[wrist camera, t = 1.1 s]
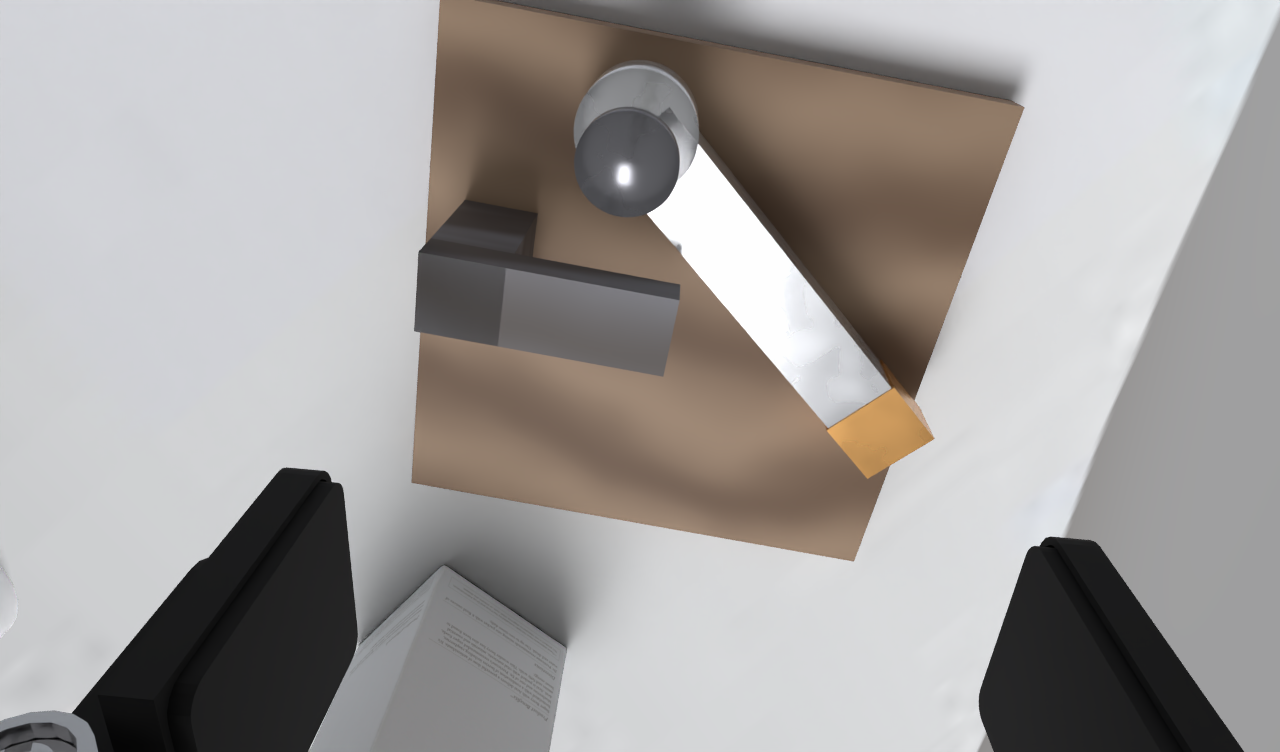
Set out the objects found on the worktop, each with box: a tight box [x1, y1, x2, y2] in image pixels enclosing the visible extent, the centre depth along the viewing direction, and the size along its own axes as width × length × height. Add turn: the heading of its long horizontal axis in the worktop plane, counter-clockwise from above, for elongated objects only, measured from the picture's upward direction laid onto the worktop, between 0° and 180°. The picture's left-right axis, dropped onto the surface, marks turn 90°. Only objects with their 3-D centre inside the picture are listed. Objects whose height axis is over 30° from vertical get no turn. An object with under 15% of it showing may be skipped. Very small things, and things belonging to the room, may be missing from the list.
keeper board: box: [412, 0, 1024, 561], centre depth 34 cm, size 22×22×8 cm
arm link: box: [574, 60, 934, 479], centre depth 31 cm, size 19×4×8 cm, turn 40°
